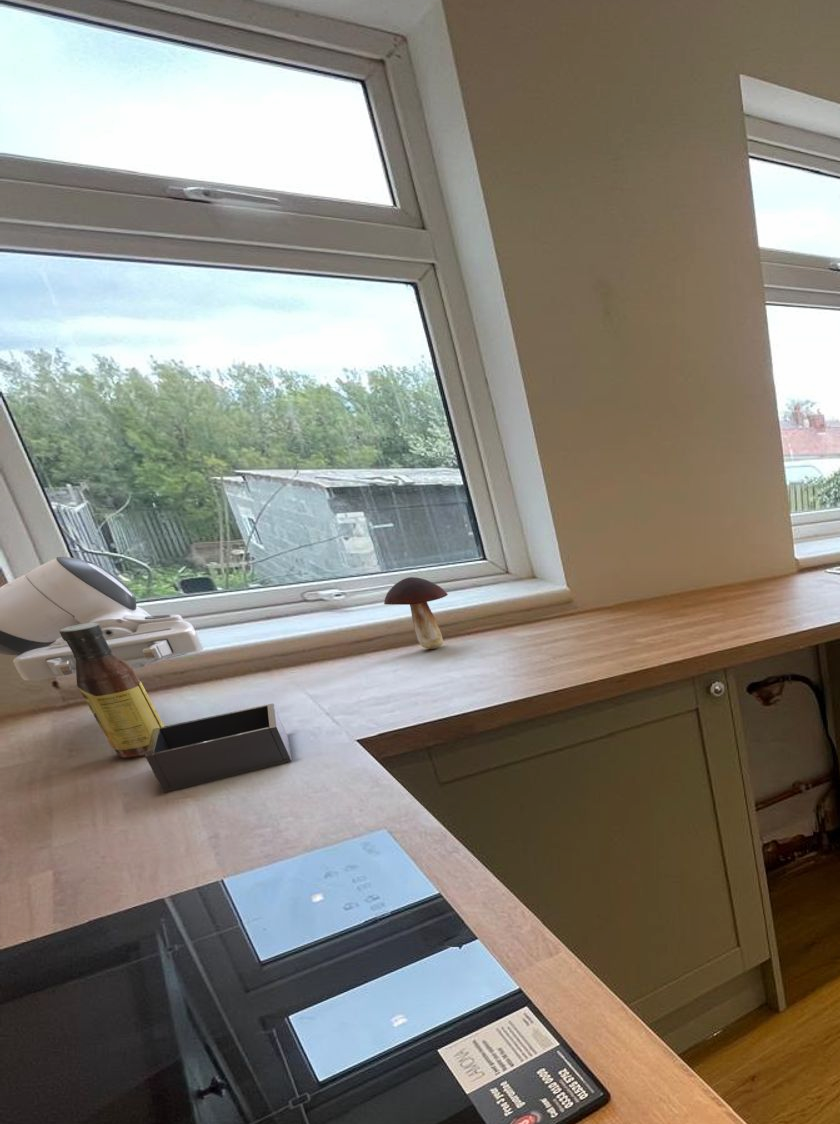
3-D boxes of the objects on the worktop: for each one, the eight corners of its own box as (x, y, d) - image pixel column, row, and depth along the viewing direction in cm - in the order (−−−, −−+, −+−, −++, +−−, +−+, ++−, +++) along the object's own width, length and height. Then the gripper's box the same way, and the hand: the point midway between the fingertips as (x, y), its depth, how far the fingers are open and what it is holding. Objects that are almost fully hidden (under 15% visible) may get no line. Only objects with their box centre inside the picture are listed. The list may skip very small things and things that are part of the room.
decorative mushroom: (475, 642, 172) (452, 572, 166) (425, 658, 163) (399, 585, 157) (439, 639, 176) (416, 570, 170) (389, 654, 167) (362, 582, 160)
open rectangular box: (164, 793, 109) (145, 756, 107) (170, 763, 119) (152, 728, 117) (291, 761, 117) (276, 726, 115) (287, 735, 127) (273, 703, 125)
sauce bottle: (134, 746, 126) (69, 622, 118) (183, 740, 127) (122, 617, 119) (105, 763, 120) (35, 634, 112) (157, 756, 121) (91, 628, 113)
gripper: (13, 639, 124) (-6, 659, 114) (192, 611, 136) (188, 627, 126) (35, 678, 127) (18, 700, 117) (208, 647, 139) (206, 665, 129)
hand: (108, 662), depth 122 cm, fingers open, 8 cm apart
